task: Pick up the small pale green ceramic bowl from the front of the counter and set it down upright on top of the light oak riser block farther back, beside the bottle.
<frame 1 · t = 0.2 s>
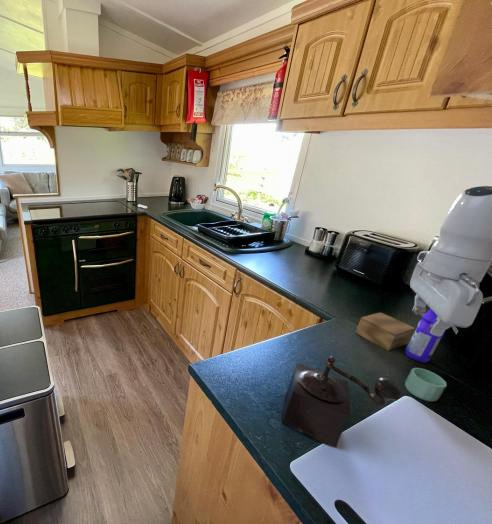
hand: (425, 323, 65), 21 cm above the countertop, tool pointing down, fingers open, 8 cm apart
bottle: (415, 357, 87), on the countertop
riser: (380, 338, 95), on the countertop
bowl: (420, 392, 73), on the countertop
manual coffee grinder: (321, 425, 62), on the countertop
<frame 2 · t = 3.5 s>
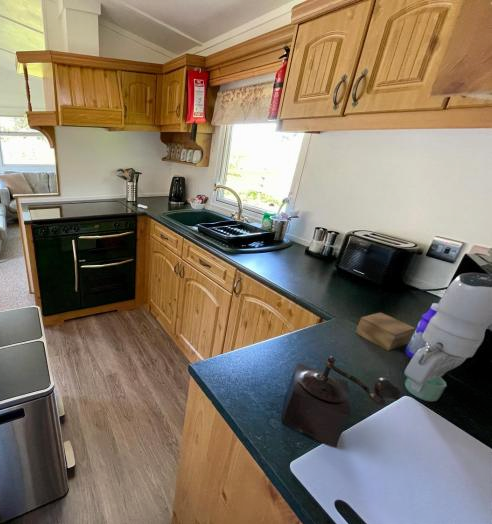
hand: (424, 384, 72), 2 cm above the countertop, tool pointing down, fingers closed on bowl, 6 cm apart
bowl: (420, 392, 73), on the countertop, touching gripper
everything else where it was.
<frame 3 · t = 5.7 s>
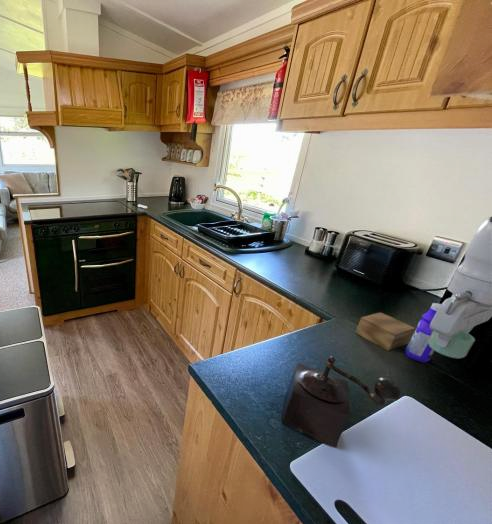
hand: (449, 341, 67), 16 cm above the countertop, tool pointing down, fingers closed on bowl, 6 cm apart
bowl: (445, 350, 68), point 13 cm above the countertop, touching gripper
everything else where it was.
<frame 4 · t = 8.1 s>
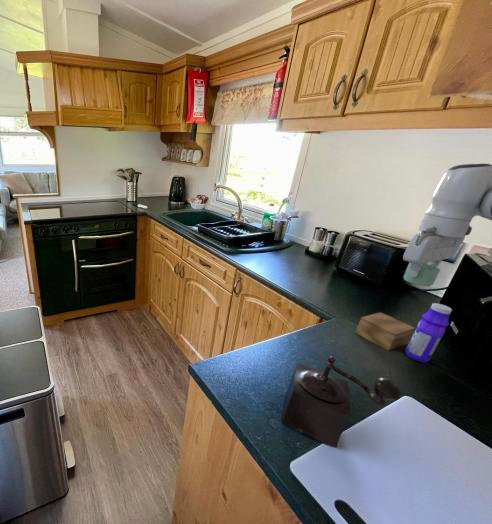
hand: (420, 274, 82), 25 cm above the countertop, tool pointing down, fingers closed on bowl, 6 cm apart
bowl: (416, 282, 83), point 23 cm above the countertop, touching gripper
everything else where it was.
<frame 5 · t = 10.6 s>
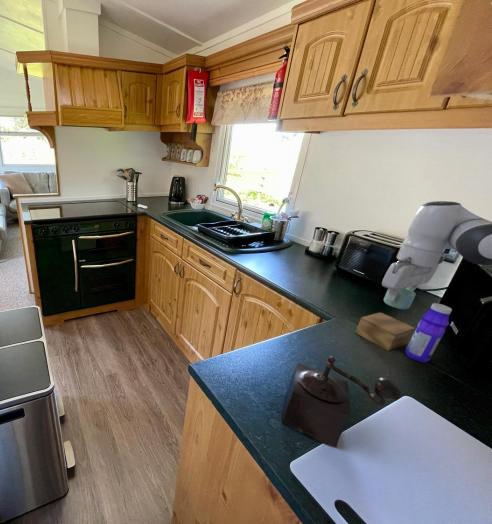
hand: (398, 297, 90), 15 cm above the countertop, tool pointing down, fingers closed on bowl, 6 cm apart
bowl: (395, 304, 91), point 13 cm above the countertop, touching gripper
everything else where it was.
when the fingers open (8 cm above the countertop, at t = 12.8 s): bowl stays where it is, resting on riser.
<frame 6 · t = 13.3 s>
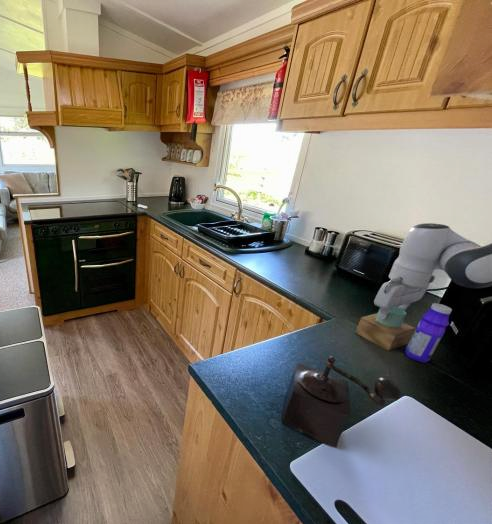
hand: (390, 315, 92), 9 cm above the countertop, tool pointing down, fingers open, 8 cm apart
bowl: (387, 322, 93), point 6 cm above the countertop, touching riser
everything else where it was.
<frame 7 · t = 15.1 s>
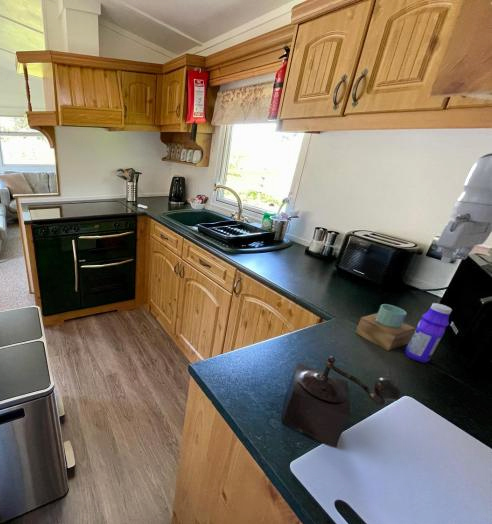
hand: (453, 260, 84), 29 cm above the countertop, tool pointing down, fingers open, 8 cm apart
nothing on the countertop moved.
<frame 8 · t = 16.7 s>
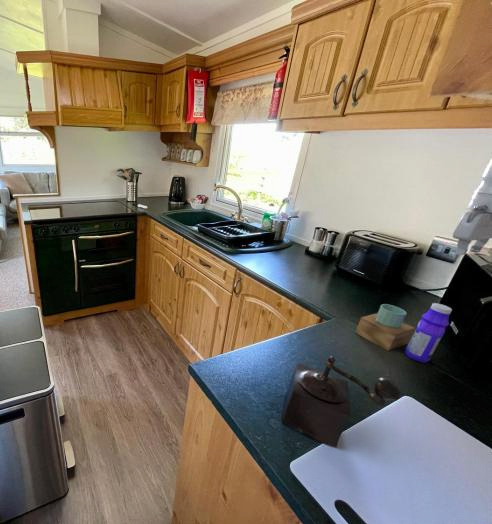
hand: (467, 253, 84), 31 cm above the countertop, tool pointing down, fingers open, 8 cm apart
nothing on the countertop moved.
at the end: bowl inside the target area on the riser (0.1 cm from its centre), point 6.0 cm above the riser's base; bowl tilted 0°; the gripper is holding nothing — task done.
